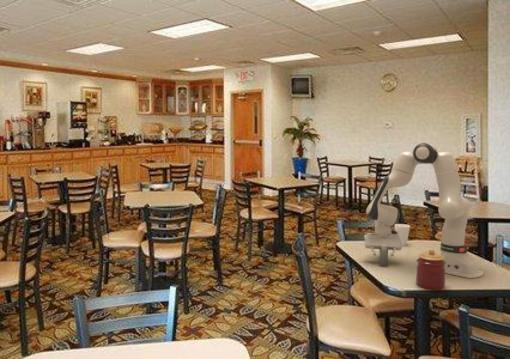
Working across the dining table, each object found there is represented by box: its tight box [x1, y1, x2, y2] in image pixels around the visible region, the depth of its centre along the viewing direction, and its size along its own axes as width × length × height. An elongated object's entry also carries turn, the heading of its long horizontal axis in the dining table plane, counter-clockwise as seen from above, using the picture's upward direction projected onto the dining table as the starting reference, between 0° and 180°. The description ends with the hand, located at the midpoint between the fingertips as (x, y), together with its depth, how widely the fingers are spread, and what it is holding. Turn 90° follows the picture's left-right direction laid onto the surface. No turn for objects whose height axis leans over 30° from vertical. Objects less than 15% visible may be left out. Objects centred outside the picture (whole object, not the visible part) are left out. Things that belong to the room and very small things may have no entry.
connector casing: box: [378, 245, 389, 268], centre depth 241 cm, size 7×4×11 cm, turn 168°
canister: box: [415, 248, 446, 290], centre depth 208 cm, size 13×13×18 cm
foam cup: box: [394, 223, 411, 247], centre depth 285 cm, size 10×9×13 cm
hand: (383, 255), depth 241 cm, fingers open, 8 cm apart
